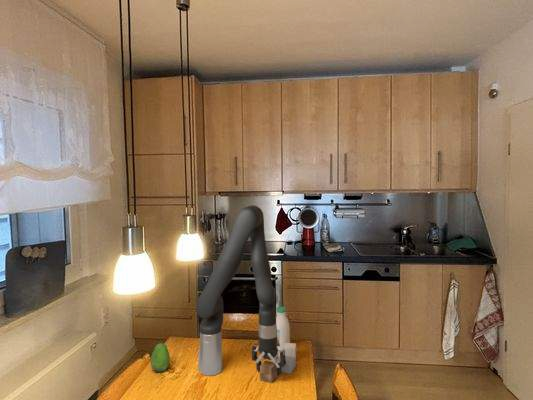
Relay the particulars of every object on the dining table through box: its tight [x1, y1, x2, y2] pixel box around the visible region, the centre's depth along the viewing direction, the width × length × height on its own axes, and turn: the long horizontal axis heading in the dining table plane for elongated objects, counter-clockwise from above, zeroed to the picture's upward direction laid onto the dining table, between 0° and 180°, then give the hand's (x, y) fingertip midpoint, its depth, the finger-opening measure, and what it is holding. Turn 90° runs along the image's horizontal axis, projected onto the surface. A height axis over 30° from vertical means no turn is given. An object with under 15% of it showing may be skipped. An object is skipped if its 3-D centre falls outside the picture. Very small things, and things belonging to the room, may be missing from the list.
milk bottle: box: [276, 306, 291, 351], centre depth 167 cm, size 8×8×20 cm
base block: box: [276, 355, 297, 375], centre depth 150 cm, size 7×7×4 cm
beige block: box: [284, 342, 297, 358], centre depth 158 cm, size 5×5×6 cm
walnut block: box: [259, 359, 277, 384], centre depth 142 cm, size 5×5×6 cm
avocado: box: [150, 342, 171, 373], centre depth 149 cm, size 8×8×12 cm
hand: (268, 373), depth 142 cm, fingers open, 8 cm apart
